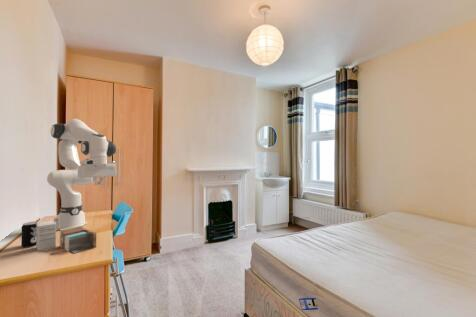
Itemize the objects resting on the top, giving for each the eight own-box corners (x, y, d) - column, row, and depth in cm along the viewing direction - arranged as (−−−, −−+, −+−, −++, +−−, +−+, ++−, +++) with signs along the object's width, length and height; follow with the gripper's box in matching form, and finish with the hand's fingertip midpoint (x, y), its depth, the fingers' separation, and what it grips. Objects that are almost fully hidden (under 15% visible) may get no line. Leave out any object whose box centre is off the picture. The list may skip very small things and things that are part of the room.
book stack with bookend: (59, 246, 117) (59, 229, 117) (81, 240, 125) (81, 224, 125) (73, 254, 107) (73, 235, 107) (96, 247, 115) (96, 230, 115)
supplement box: (35, 247, 115) (36, 223, 116) (54, 243, 121) (54, 220, 121) (37, 251, 110) (37, 226, 110) (56, 247, 116) (56, 223, 116)
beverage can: (26, 248, 114) (26, 225, 114) (18, 246, 116) (18, 224, 116) (41, 244, 120) (41, 222, 120) (33, 242, 122) (33, 220, 122)
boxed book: (64, 249, 113) (64, 236, 113) (84, 244, 120) (84, 231, 120) (67, 251, 110) (67, 237, 110) (88, 245, 118) (88, 232, 118)
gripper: (113, 161, 141) (113, 183, 140) (76, 161, 124) (76, 186, 123) (118, 161, 137) (118, 183, 137) (81, 161, 120) (81, 186, 120)
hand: (98, 184), depth 130 cm, fingers closed
